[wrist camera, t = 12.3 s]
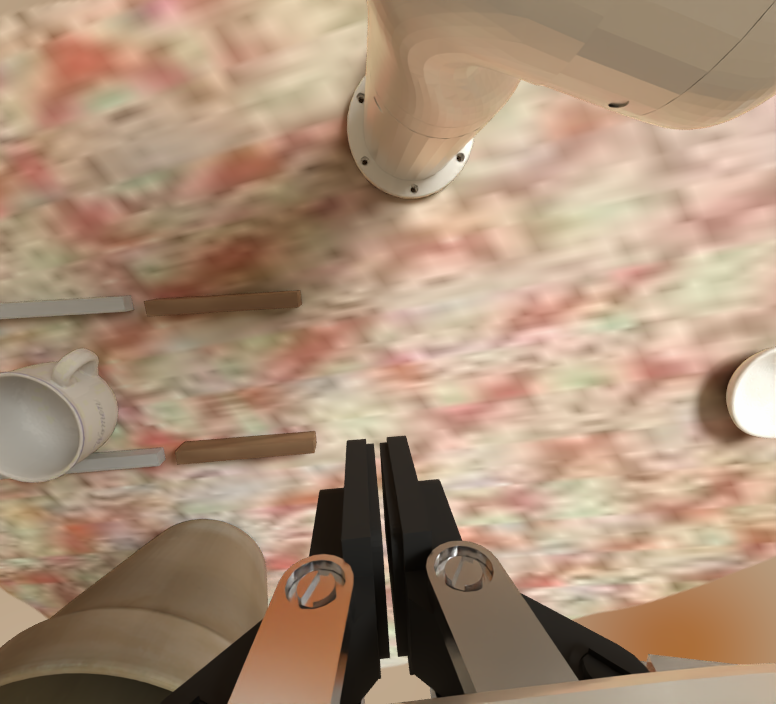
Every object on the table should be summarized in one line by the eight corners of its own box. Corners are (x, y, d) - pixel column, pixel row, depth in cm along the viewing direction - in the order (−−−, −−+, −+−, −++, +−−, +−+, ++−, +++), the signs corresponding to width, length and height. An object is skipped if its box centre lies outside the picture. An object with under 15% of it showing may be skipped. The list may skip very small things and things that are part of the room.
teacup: (87, 461, 45) (31, 505, 37) (4, 396, 42) (-75, 427, 34) (172, 384, 43) (132, 412, 36) (92, 311, 41) (30, 324, 33)
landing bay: (-43, 305, 40) (-58, 307, 38) (130, 295, 41) (122, 296, 39) (11, 471, 44) (-1, 479, 43) (165, 459, 45) (159, 465, 44)
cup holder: (156, 298, 41) (143, 301, 38) (300, 290, 42) (296, 292, 39) (187, 453, 45) (177, 464, 43) (316, 442, 46) (314, 453, 44)
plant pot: (131, 658, 52) (-24, 934, 31) (73, 497, 46) (-169, 704, 25) (319, 628, 53) (294, 874, 32) (287, 467, 47) (230, 640, 26)
